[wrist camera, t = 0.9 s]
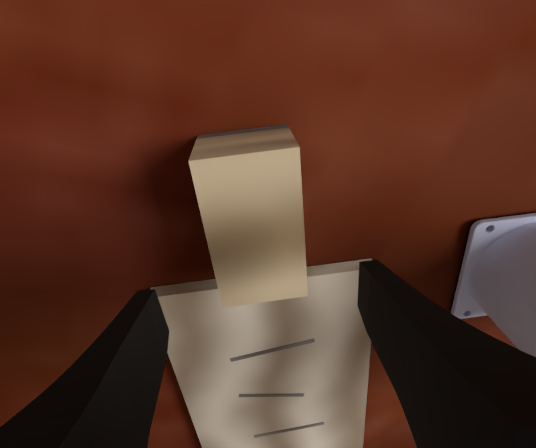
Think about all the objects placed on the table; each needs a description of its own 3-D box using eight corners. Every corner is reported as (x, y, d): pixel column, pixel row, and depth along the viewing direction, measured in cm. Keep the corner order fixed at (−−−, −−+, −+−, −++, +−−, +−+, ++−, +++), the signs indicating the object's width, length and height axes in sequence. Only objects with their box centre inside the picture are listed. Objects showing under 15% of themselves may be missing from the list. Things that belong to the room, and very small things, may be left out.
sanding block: (198, 134, 17) (188, 161, 14) (286, 123, 17) (299, 146, 14) (224, 262, 21) (222, 307, 18) (296, 252, 21) (308, 296, 18)
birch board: (371, 258, 21) (377, 268, 21) (358, 444, 32) (362, 456, 31) (150, 287, 21) (147, 298, 20) (213, 465, 32) (212, 478, 31)
